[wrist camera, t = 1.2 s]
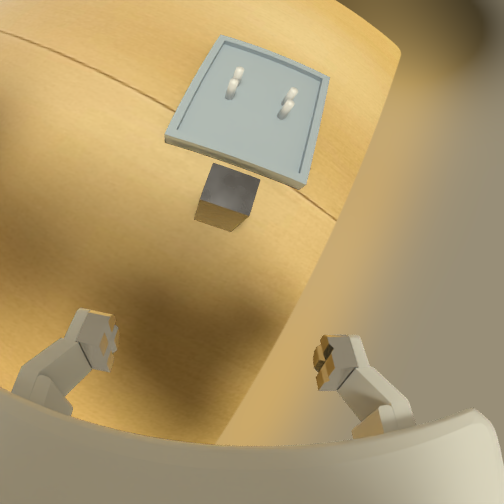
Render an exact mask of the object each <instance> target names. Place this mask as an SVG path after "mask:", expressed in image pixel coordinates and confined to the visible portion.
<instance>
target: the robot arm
mask: <svg viewBox="0 0 504 504" xmlns="http://www.w3.org/2000/svg"><path fill="white" fill-rule="evenodd" d="M115 323H116V318H115V315H113V314H108V313H104V312H99V311H94V310H90V309H85V308H79V309H78V310H77V312H76V314H75V316H74V318H73V320H72V322H71V324H70V326H69V328H68V331H67V333H66V335H65V337H64V338H60V339H59V340H57V341H56V342H54V343H53V344H52V345H50V346H49V347H47V348H46V349H45V350H43V351H42V352H41V353H39V354H38V355H36V356H35V357H34V358H32V359H31V360H30V361H28V362H27V363H26V364H24V365H23V366H22V367H21V369H20V372H19V374H18V377H17V379H16V381H15V384H14V386H13V389H12V392H10V391H8V390H5V389H3V388H1V387H0V504H504V465H503V460H502V455H501V450H500V446H499V442H498V438H497V435H496V432H495V429H494V427H493V425H492V423H491V422H490V421H489V420H488V419H487V418H486V417H485V416H483V415H482V414H481V413H480V412H479V411H477V410H476V409H474V408H469V409H466V410H463V411H460V412H458V413H455V414H452V415H449V416H446V417H443V418H440V419H437V420H434V421H431V422H427V423H424V424H420V425H417V426H416V423H415V420H414V416H413V413H412V410H411V407H410V404H409V401H408V399H407V398H405V397H404V396H403V395H402V394H401V393H400V392H399V391H398V390H397V389H396V388H395V387H394V386H393V385H392V384H391V383H390V382H388V381H387V380H386V379H385V378H384V377H383V376H382V375H381V374H380V373H379V372H378V371H377V370H376V369H374V367H370V366H369V362H368V360H367V356H366V354H365V350H364V347H363V345H362V341H361V339H360V337H359V336H358V335H323V336H322V338H321V340H320V342H321V344H320V345H319V346H317V347H316V349H315V351H314V356H313V364H314V368H315V370H316V371H317V372H318V374H317V376H316V380H317V385H318V390H319V391H335V390H338V391H337V392H338V393H339V395H340V396H341V397H342V398H343V400H344V401H345V402H346V403H347V405H348V406H349V407H350V408H351V410H352V411H353V412H354V414H355V415H356V416H357V417H358V419H359V420H360V421H361V423H359V424H358V425H357V426H356V427H355V428H353V430H352V435H353V439H350V440H343V441H336V442H327V443H317V444H306V445H291V446H230V445H213V444H201V443H192V442H183V441H175V440H168V439H162V438H156V437H150V436H145V435H140V434H135V433H130V432H126V431H121V430H117V429H113V428H109V427H105V426H101V425H98V424H94V423H91V422H87V421H84V420H81V419H78V418H74V417H71V414H72V410H73V407H72V405H71V404H70V403H69V401H68V400H67V399H66V398H65V396H66V395H67V394H68V393H69V392H70V391H71V390H72V389H73V388H74V387H75V386H76V385H77V384H78V383H79V382H80V381H81V380H82V379H83V378H84V377H85V376H86V375H87V374H88V373H89V372H90V371H91V370H92V369H96V370H101V371H106V372H111V369H112V366H113V362H114V356H113V353H114V352H115V351H116V350H117V349H118V346H119V340H120V332H119V328H118V327H117V326H116V325H115ZM91 368H92V369H91Z"/></svg>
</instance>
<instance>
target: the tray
mask: <svg viewBox="0 0 504 504" xmlns="http://www.w3.org/2000/svg"><path fill="white" fill-rule="evenodd" d="M329 79H330V77H328V76H326V75H324V74H322V73H320V72H318V71H316V70H314V69H311V68H309V67H307V66H305V65H303V64H300V63H298V62H296V61H293V60H291V59H289V58H286V57H284V56H281V55H279V54H276V53H274V52H271V51H269V50H266V49H263V48H261V47H258V46H255V45H252V44H249V43H246V42H243V41H240V40H237V39H234V38H230V37H227V36H224V35H220V36H219V38H218V39H217V41H216V42H215V44H214V46H213V47H212V49H211V50H210V52H209V53H208V55H207V57H206V58H205V60H204V62H203V63H202V65H201V67H200V68H199V70H198V72H197V74H196V75H195V77H194V79H193V80H192V82H191V84H190V86H189V88H188V89H187V91H186V93H185V95H184V97H183V99H182V101H181V102H180V104H179V106H178V108H177V110H176V112H175V114H174V116H173V118H172V120H171V122H170V124H169V126H168V128H167V130H166V132H165V143H168V144H172V145H175V146H178V147H181V148H185V149H188V150H191V151H194V152H197V153H200V154H203V155H206V156H209V157H212V158H215V159H218V160H221V161H224V162H227V163H230V164H232V165H235V166H238V167H241V168H244V169H246V170H249V171H252V172H254V173H257V174H260V175H262V176H265V177H268V178H270V179H273V180H276V181H278V182H281V183H283V184H286V185H288V186H291V187H293V188H296V189H298V190H299V189H301V188H302V187H304V186H305V185H306V183H307V179H308V175H309V171H310V166H311V162H312V158H313V154H314V149H315V145H316V140H317V136H318V131H319V127H320V122H321V118H322V113H323V108H324V104H325V99H326V94H327V89H328V84H329Z"/></svg>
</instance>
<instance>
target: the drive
mask: <svg viewBox="0 0 504 504" xmlns="http://www.w3.org/2000/svg"><path fill="white" fill-rule="evenodd" d="M259 182H260V179H257V178H255V177H252V176H249V175H247V174H244V173H241V172H238V171H236V170H233V169H230V168H227V167H224V166H221V165H218V164H215V163H213V165H212V167H211V170H210V173H209V175H208V178H207V181H206V184H205V186H204V189H203V192H202V195H201V198H200V201H199V204H198V208H197V211H196V215H195V218H194V220H197V221H200V222H203V223H206V224H209V225H212V226H215V227H218V228H221V229H224V230H227V231H230V232H231V231H232V230H233V229H235V228H236V227H237V226H238V225H239V224H241V223H242V222H243V221H244V220H245V219H246V218H248V217H249V215H250V212H251V209H252V205H253V202H254V199H255V196H256V192H257V189H258V186H259Z"/></svg>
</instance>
